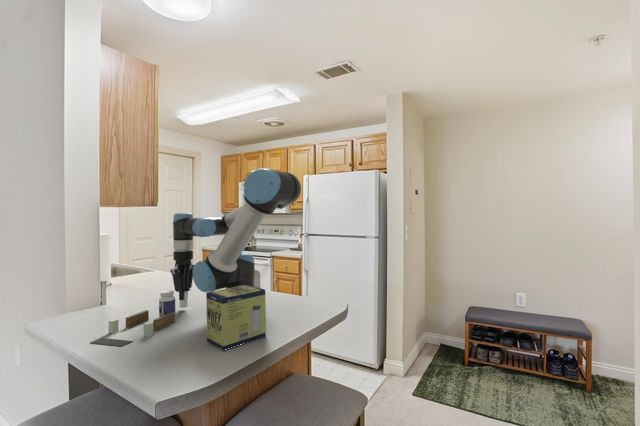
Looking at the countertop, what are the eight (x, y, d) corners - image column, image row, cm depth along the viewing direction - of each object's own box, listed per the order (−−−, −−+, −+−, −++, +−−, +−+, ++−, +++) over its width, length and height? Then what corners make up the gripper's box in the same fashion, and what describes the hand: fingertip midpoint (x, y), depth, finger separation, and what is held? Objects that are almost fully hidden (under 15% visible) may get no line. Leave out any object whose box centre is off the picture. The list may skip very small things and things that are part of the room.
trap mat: (132, 341, 101) (132, 341, 101) (121, 346, 97) (121, 346, 97) (101, 338, 104) (101, 337, 104) (89, 343, 100) (89, 342, 100)
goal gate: (153, 334, 107) (153, 322, 107) (148, 336, 105) (148, 324, 105) (113, 330, 111) (113, 319, 111) (108, 332, 109) (108, 320, 109)
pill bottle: (178, 315, 128) (178, 290, 128) (170, 320, 122) (170, 293, 122) (164, 315, 128) (164, 289, 128) (155, 319, 123) (155, 293, 123)
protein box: (205, 342, 101) (205, 292, 101) (248, 329, 112) (248, 284, 112) (222, 352, 93) (222, 297, 93) (266, 337, 105) (266, 288, 105)
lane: (174, 322, 120) (174, 312, 120) (157, 330, 111) (157, 320, 111) (145, 319, 123) (145, 310, 123) (125, 327, 114) (125, 317, 114)
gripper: (185, 248, 142) (185, 302, 142) (164, 251, 129) (164, 311, 129) (200, 248, 140) (201, 303, 140) (180, 252, 127) (180, 312, 127)
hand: (183, 307), depth 135 cm, fingers closed
